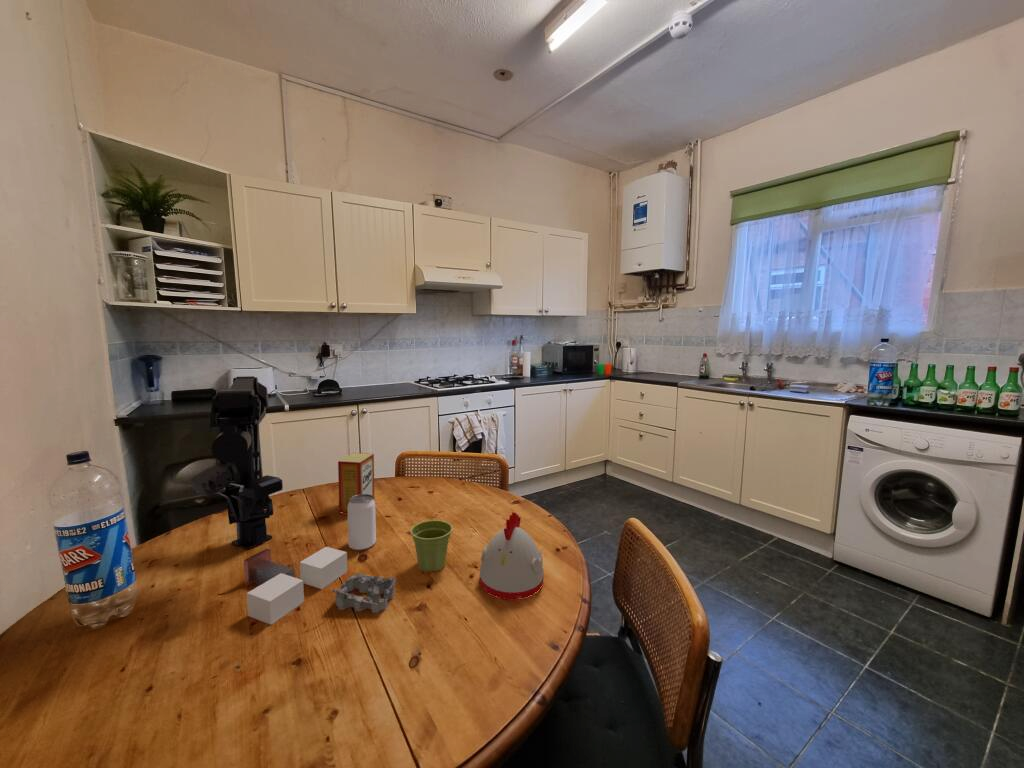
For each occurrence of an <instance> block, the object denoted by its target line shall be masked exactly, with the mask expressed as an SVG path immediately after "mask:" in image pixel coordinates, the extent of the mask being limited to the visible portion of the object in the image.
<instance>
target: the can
mask: <svg viewBox="0 0 1024 768" xmlns="http://www.w3.org/2000/svg"><path fill="white" fill-rule="evenodd" d="M376 523H377V522H376V501H375V499H374V500H373V496H372V495H369V494H360V495H355V496H353V497H351V498H350V499H349V504H348V514H347V542H348V543H347V544H348V548H349V549H351V550H354V551H363V550H367V549H370V548H372V547H373V546H374V544H375V543H376V542H377V541H376V538H377V536H376V534H377V533H376V532H377V529H376V526H377V525H376Z"/></svg>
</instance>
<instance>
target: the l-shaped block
mask: <svg viewBox="0 0 1024 768" xmlns="http://www.w3.org/2000/svg"><path fill="white" fill-rule="evenodd" d="M243 570H244V571H243V572H244V584H246V585H248V586H249V585H251V584H253V583H255V584H258V585H259V586H260V585H262V584H263V583H265V582H267V581H268V580H270V579H272V578H274V577H275V576H277V575H279V574H280V573H282V574H285V575H288V576H291V577H295V569H294V568H292V567H289V566H286V565H282V564H281V563H277V562H273V561H272V549H270V548H265V549H263V550H261V551H260V552H256V553H255V554H253V555H252V556H250V557H247V558H245V559H244V560H243Z"/></svg>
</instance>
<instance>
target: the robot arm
mask: <svg viewBox="0 0 1024 768" xmlns="http://www.w3.org/2000/svg"><path fill="white" fill-rule="evenodd" d="M269 404H270V402H269V393H268V388H267V386H265V385H263V384H262V383H261V382H259V379H258V377H255V376H254V375H253V376H251V375H250V376H236V377H233V378H232V384H231V386H230V387H229V389H220V390H218V391H217V392H216V394H215V396H212V399H211V410H210V419H209V420H210V421H209V428H219V433H218V435H217V436H216V438H215V439H214V440H213V442H212V445H211V447H210V448H211V454H212V455H213V457H214V458H215V464H214V465H212V466H211V467H208V468H206V469H205V470H203V471H200V473H197V474H195V475H194V476H193V477H191V478H190V479H189V481H190V483H191V486H192V487H193V489H194V491H195V493H196V494H198V495H200V494H201V495H204V496H206V497H212V496H213V495H216V494H218V495H221V496H222V497H224V498H225V500H226V502H227V505H226V506H227V507H226V509H227V515H228V524H229V525H232V524H236V539H234V540H232V541H231V542H230V544H231V545H234V546H236V547H239V548H243V549H245V550H249V549H253V548H255V547H256V546H258V545H260V544H262V543H264V542H267V541H268V540H270V539H272V538H273V535H271V534H269V533H268V532H267V524H266V523H267V522H266V520H267V519H270V517H272V516H273V515H274V505H273V499H272V498H271V497H270V495H272V494H275V493H278V492H280V491H282V490H283V488H284V487H283V485H284V484H283V479H281V478H280V477H277V476H273V475H268V474H267V475H264V476H262V477H260V475H261V470H260V424H261V423H262V421H263V419H265V417H266V415H267V414H266V413H267V412H266V411H267V408H269ZM267 533H268V534H267Z"/></svg>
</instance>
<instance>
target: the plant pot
mask: <svg viewBox="0 0 1024 768" xmlns="http://www.w3.org/2000/svg"><path fill="white" fill-rule="evenodd" d="M452 532H453V525H452V524H451V523H449V522H447V521H444V520H436V519H435V520H434V519H431V520H430V519H429V520H425V521H421V522H418V523H415V525H413V526H412V527H411V528H410V535H411V537H412V539H413V540H412V541H414V546H415V553H416V560H417V565H418V566H417V567H418V568H419V570H421V571H423V572H428V571H431V572H436V571H439V570H441V569H443V568H444V567H445V564H446V560H447V553H448V545H449V539H450V537H451V533H452Z"/></svg>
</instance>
